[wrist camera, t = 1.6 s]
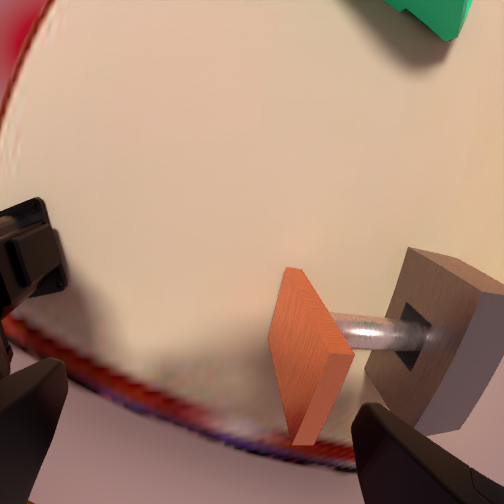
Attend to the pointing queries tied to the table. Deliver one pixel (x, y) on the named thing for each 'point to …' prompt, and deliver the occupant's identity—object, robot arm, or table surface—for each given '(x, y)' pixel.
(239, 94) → the table surface
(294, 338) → the lock pin
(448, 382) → the block
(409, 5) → the camera mount
